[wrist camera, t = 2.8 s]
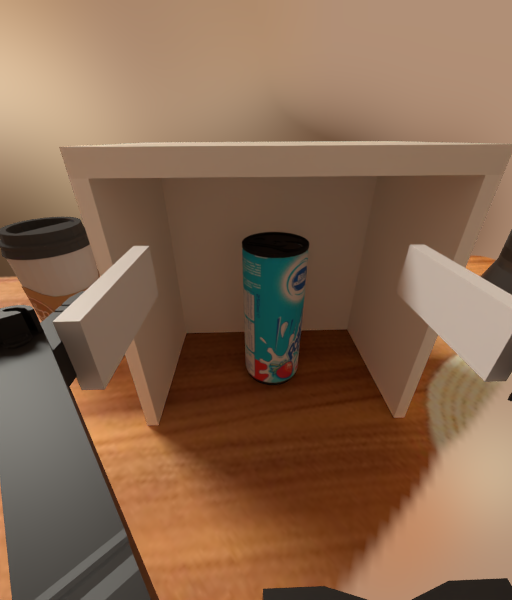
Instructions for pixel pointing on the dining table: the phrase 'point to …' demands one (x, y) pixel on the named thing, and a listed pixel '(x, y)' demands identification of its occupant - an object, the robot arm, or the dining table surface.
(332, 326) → the open box
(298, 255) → the beverage can
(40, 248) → the coffee cup
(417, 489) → the dining table surface
